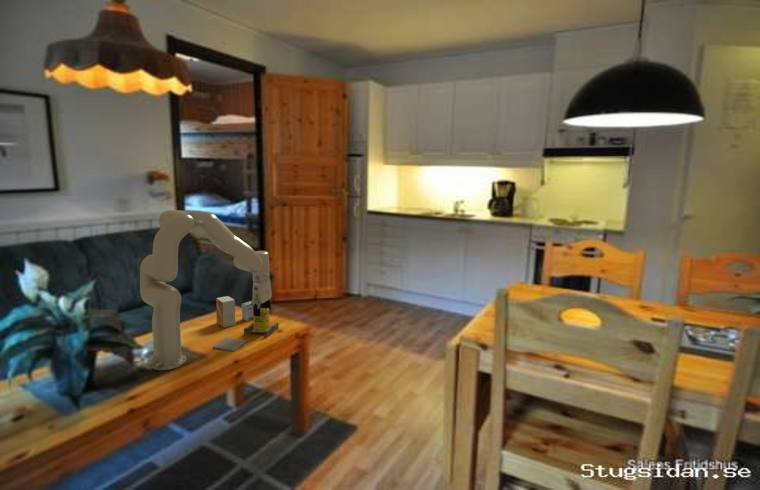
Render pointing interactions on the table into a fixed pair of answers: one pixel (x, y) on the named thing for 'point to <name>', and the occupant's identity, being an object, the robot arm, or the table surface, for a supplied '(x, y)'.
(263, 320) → the supplement box
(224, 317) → the small box
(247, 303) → the medicine box
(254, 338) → the table surface
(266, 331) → the divider rack
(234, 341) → the grey tile
